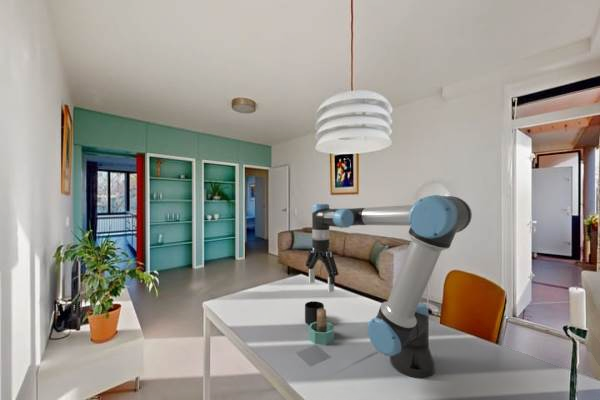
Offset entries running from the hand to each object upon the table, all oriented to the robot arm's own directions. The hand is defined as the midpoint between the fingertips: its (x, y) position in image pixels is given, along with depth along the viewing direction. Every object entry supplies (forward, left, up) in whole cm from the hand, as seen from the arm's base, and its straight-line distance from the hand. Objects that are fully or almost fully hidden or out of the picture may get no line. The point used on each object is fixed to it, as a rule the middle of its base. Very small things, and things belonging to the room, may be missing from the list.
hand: (320, 287), depth 112 cm
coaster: (-8, +10, -23) cm, 27 cm away
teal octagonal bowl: (0, 0, -23) cm, 23 cm away
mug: (+13, -7, -23) cm, 27 cm away
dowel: (0, 0, -22) cm, 22 cm away
